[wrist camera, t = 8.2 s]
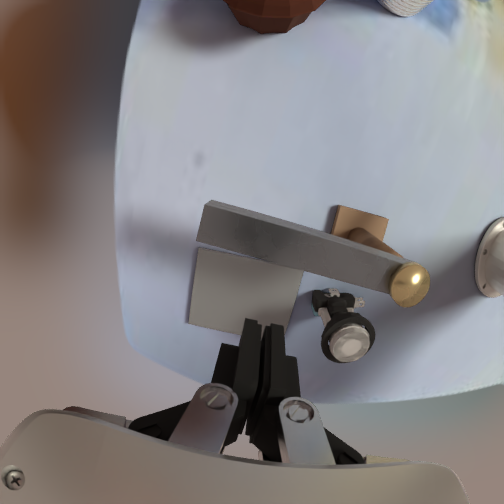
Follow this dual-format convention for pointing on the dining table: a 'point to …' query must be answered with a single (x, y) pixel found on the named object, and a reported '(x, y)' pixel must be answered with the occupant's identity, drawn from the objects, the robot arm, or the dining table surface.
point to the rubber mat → (241, 291)
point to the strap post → (361, 228)
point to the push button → (342, 326)
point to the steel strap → (312, 251)
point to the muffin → (272, 13)
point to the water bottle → (405, 6)
